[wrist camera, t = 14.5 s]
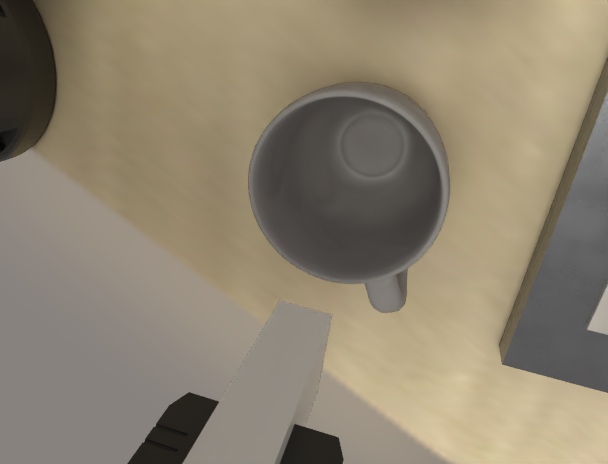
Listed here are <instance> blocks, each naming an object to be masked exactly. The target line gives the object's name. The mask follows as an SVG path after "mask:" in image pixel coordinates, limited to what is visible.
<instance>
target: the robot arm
mask: <svg viewBox="0 0 608 464" xmlns="http://www.w3.org/2000/svg"><path fill="white" fill-rule="evenodd" d="M54 97H55V70H54V62H53V56H52V51H51V47H50V43H49V40H48V36H47V33H46V31H45V28H44V25H43V23H42V20H41V18H40V16H39V14H38V12H37V10H36V8H35V6H34V4H33V2H32V0H0V162H1V161H4V160H7V159H10V158H13V157H16V156H18V155H20V154H22V153H23V152H25V151H27V150H28V149H29V148H30V147H32V146H33V145H34V144H35V143H36V142H37V140H38V139H39V138H40V136H41V135H42V133H43V132H44V130H45V128H46V126H47V124H48V122H49V119H50V116H51V113H52V109H53V104H54ZM331 320H332V315H331V314H328V313H324V312H320V311H316V310H313V309H309V308H305V307H302V306H298V305H294V304H290V303H287V302H283V301H279V303H278V304H277V306H276V308H275V309H274V311H273V313H272V314H271V316H270V318H269V319H268V321H267V323H266V324H265V326H264V328H263V329H262V331H261V333H260V334H259V336H258V338H257V339H256V341H255V343H254V345H253V347H252V348H251V350H250V351H249V353H248V355H247V357H246V358H245V360H244V361H243V363H242V365H241V366H240V368H239V370H238V371H237V373H236V375H235V376H234V378H233V380H232V381H231V383H230V385H229V387H228V388H227V390H226V391H225V393H224V395H223V396H222V398H221V400H220V401H219V402H218V401H215V400H212V399H209V398H205V397H202V396H199V395H196V394H193V393H187V394H186V395H184V396H183V397H181V398H180V399H178V400H177V401H175V402H174V403H172V404H171V405H169V407H168V408H167V410H166V411H165V412H164V414H163V415H162V417H161V418H160V419H159V421H158V422H157V424H156V426H155V427H154V428H153V429H152V430H151V432H150V433H149V434H148V436H147V437H146V439H145V442H144V443H142V444H141V446H140V447H139V448H138V450H137V451H136V453H135V454H134V455H133V457H132V458H131V460H130V461H129V462H128V464H342V463H343V455H342V451H341V446H340V442H339V438H338V437H335V436H332V435H329V434H325V433H322V432H319V431H316V430H313V429H309V428H306V427H305V426H306V423H307V420H308V418H309V415H310V412H311V409H312V407H313V404H314V401H315V398H316V395H317V392H318V387H319V382H320V377H321V372H322V367H323V361H324V356H325V351H326V346H327V341H328V335H329V330H330V325H331Z"/></svg>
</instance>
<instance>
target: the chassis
mask: <svg viewBox="0 0 608 464" xmlns="http://www.w3.org/2000/svg"><path fill="white" fill-rule="evenodd" d="M499 348H500V355H501V361H502V364H503V365H506V366H510V367H514V368H517V369H521V370H525V371H529V372H532V373H536V374H540V375H543V376H547V377H551V378H555V379H558V380H562V381H566V382H569V383H573V384H577V385H581V386H584V387H588V388H592V389H596V390H599V391H603V392H607V393H608V58H607V60H606V63H605V66H604V68H603V71H602V74H601V76H600V79H599V82H598V84H597V87H596V90H595V92H594V95H593V98H592V100H591V103H590V105H589V108H588V111H587V113H586V116H585V119H584V121H583V124H582V127H581V129H580V132H579V135H578V137H577V140H576V143H575V145H574V148H573V151H572V153H571V156H570V159H569V161H568V164H567V167H566V169H565V172H564V175H563V177H562V180H561V183H560V185H559V188H558V190H557V193H556V196H555V198H554V201H553V204H552V206H551V209H550V212H549V214H548V217H547V220H546V222H545V225H544V228H543V230H542V233H541V236H540V238H539V241H538V244H537V246H536V249H535V252H534V254H533V257H532V260H531V262H530V265H529V268H528V270H527V273H526V275H525V278H524V281H523V283H522V286H521V289H520V291H519V294H518V297H517V299H516V302H515V305H514V307H513V310H512V313H511V315H510V318H509V321H508V323H507V326H506V329H505V331H504V334H503V337H502V339H501V342H500V345H499Z"/></svg>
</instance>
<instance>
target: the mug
mask: <svg viewBox="0 0 608 464" xmlns="http://www.w3.org/2000/svg"><path fill="white" fill-rule="evenodd" d="M248 189H249V197H250V202H251V207H252V210H253V213H254V216H255V218H256V221H257V223H258V225H259V227H260V229H261V231H262V232H263V234H264V236H265V237H266V239H267V240H268V241H269V243H270V244H271V245H272V246H273V247H274V249H275V250H276V251H277V252H278V253H279V254H280V255H281V256H282V257H284V258H285V259H286V260H287V261H288V262H290V263H291V264H292V265H294V266H296V267H297V268H299V269H300V270H302V271H304V272H306V273H308V274H310V275H312V276H315V277H317V278H320V279H323V280H327V281H331V282H337V283H344V284H363V283H365V286H366V290H367V293H368V297H369V300H370V303H371V305H372V306H373V307H374V309H376V310H378V311H380V312H382V313H388V312H394V311H398V310H400V309H401V308H402V307H403V306H404V304H405V301H406V294H407V268H408V267H410V266H411V265H413V264H414V263H415V262H416V261H418V260H419V259H420V258H421V257H422V256H423V255H424V254H425V253H426V251H427V250H428V249H429V248H430V247H431V245H432V244H433V242H434V241H435V239H436V238H437V236H438V234H439V232H440V230H441V227H442V225H443V222H444V219H445V216H446V212H447V208H448V203H449V195H450V177H449V167H448V161H447V156H446V152H445V148H444V145H443V142H442V140H441V137H440V135H439V133H438V131H437V129H436V127H435V125H434V124H433V122H432V121H431V119H430V118H429V116H428V115H427V114H426V113H425V112H424V110H423V109H422V108H421V107H420V106H418V105H417V104H416V103H415V102H414V101H413V100H411V99H410V98H409V97H407V96H406V95H404V94H402V93H400V92H398V91H396V90H394V89H392V88H389V87H386V86H383V85H379V84H374V83H367V82H349V83H341V84H336V85H332V86H328V87H325V88H322V89H319V90H317V91H314V92H311V93H309V94H307V95H305V96H303V97H301V98H300V99H298V100H296V101H294V102H293V103H291V104H290V105H288V106H287V107H286V108H285V109H283V110H282V111H281V112H280V113H279V114H278V115H277V116H276V117H275V118H274V119H273V120H272V121H271V122H270V124H269V125H268V126H267V127H266V129H265V130H264V132H263V133H262V135H261V136H260V138H259V140H258V142H257V144H256V146H255V149H254V151H253V154H252V158H251V162H250V167H249V176H248Z"/></svg>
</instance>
